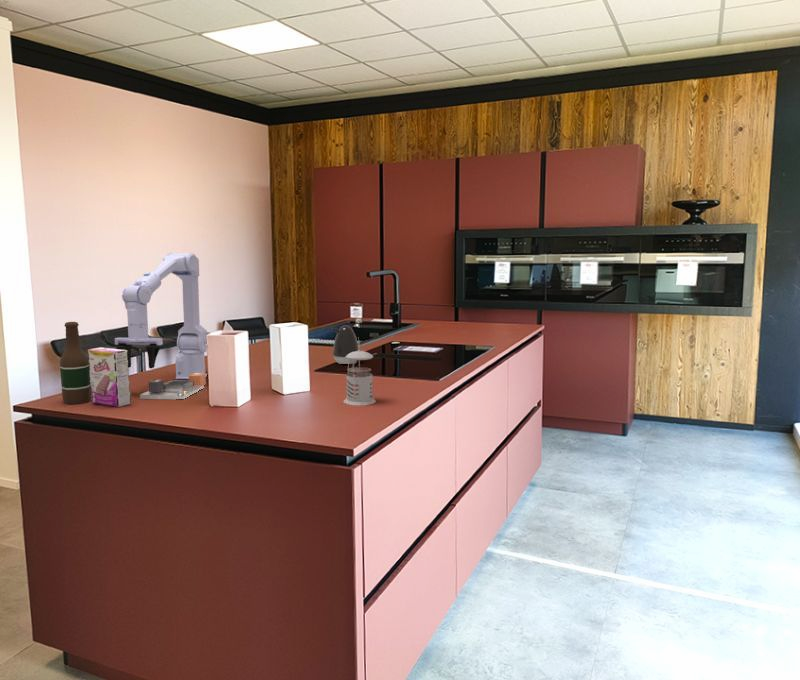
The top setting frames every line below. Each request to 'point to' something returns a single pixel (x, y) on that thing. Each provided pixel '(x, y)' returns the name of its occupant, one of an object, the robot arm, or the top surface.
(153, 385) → the breaker
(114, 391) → the candy bar box
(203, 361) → the robot arm
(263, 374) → the top surface
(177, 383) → the breaker panel
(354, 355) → the french press
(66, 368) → the beer bottle
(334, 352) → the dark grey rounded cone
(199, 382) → the lockout cap
